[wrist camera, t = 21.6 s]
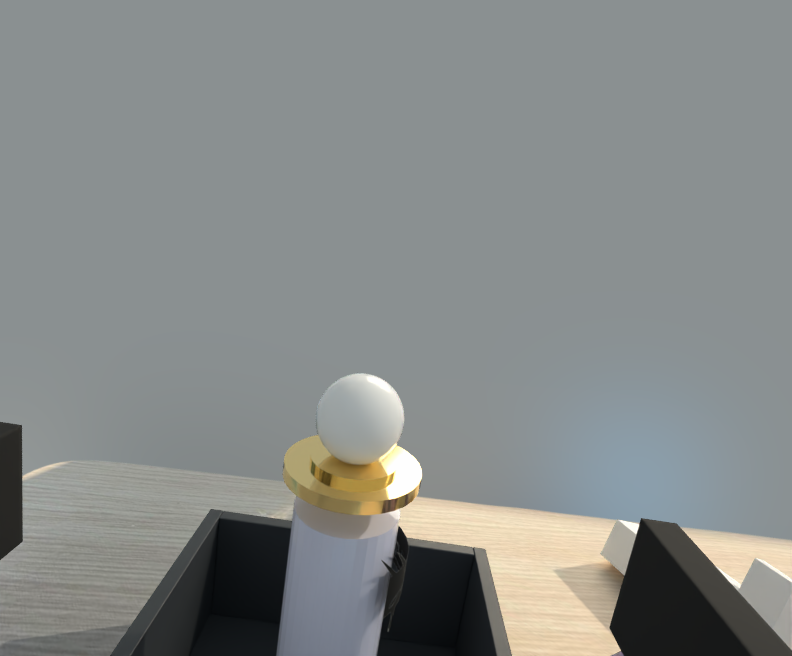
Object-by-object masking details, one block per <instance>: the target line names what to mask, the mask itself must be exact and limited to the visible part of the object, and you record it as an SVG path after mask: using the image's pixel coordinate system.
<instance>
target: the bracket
mask: <svg viewBox="0 0 792 656" xmlns="http://www.w3.org/2000/svg"><path fill="white" fill-rule="evenodd" d="M638 527H639V524H635V523H631V522H627V521H622V520H618V519H617V521H616V523H615V525H614V527H613V529H612V531H611V533H610V535H609V538H608V540H607V542H606V544H605V546H604V548H603V550H602V552H601V555H602V556H603V557H604V558H606V559H607V560H608V561H609V562H610V563H611V564H612V565H613V566H614V567H615V568H616V569H618V570H619V571H620V572H621V573H622V574H623V575H624V576H625V572H626V569H627V566H628V562H629V559H630V555H631V552H632V548H633V545H634V541H635V538H636V534H637V531H638ZM717 569H718V570H719V571H720V572H721V573H722V574H723V575H724V576H725V577H726V578H727V580H728V581H729V582H730V583H731V584H732V585H733V586H734V587H735V588H736V589H737V591H738V592H739V593H740V594H741V595H742V596H743V597H744V598H745V599H746V601H747V602H748V603H749V604H750V605H751V606H752V607H753V608H754V609H755V610H756V612H757V613H758V614H759V615H760V616H761V617H762V618H763V619H764V620H765V621H766V623H767V624H768V625H769V626H770V627H771V628H772V629H773V630H774V631H775V632H776V634H777V635H778V636H779V637H780V638H781V639H782V640H783V641H784V642H785V643H786V645H787V646H788V647H789V648H790V649H791V650H792V579H791V578H790V577H788V576H786V575H785V574H783V573H782V572H780V571H779V570H777V569H776V568H774V567H773V566H771V565H770V564H768V563H767V562H765V561H764V560H761V559H756V558H755V560H754V561H753V563H752V565H751V567H750V569H749V571H748V573H747V575H746V577H745V579H744V581H743V582H742V584H739V583H738V582H737V581H735V580H734V579H733V578H731V577H730V576H728V575H727V574H726V573H724V572H723V571H722V570H720V569H719V568H717Z"/></svg>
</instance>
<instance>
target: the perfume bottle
mask: <svg viewBox="0 0 792 656" xmlns="http://www.w3.org/2000/svg"><path fill="white" fill-rule="evenodd" d="M316 428H317V434H318V435H316V436H312V437H309V438H305V439H303V440H300V441H299V442H297V443H295V444H294V445H293V446H291V447H290V448H289V449H288V451H287V452H286V454H285V458H284V466H283V478H284V482H285V483H286V485H287V486H288V488H289V489H290V490H291V491H292V492H293V493H294V494H295V495H296V498H295V500H294V508H293V517H292V525H291V534H290V542H289V550H288V559H287V567H286V576H285V584H284V593H283V601H282V610H281V618H280V627H279V635H278V644H277V652H276V656H377V651H378V645H379V639H380V633H381V627H382V621H383V618H384V617H386V616H387V615H388V614H389V613H391V617H390V621H389V625H388V630H387V632H389V630H390V627H391V620H392V614H393V615H394V608H395V606H396V604H397V603H398V601H399V599H400V595H401V592H402V588H400V587H403V581H404V575H405V570H406V564H407V558H408V552H409V547H410V543H409V547H408V542H409V541H408V542H407V538H406V536H405V534H404V532H403V531H402V529H401V528H400V527H399V520H400V508H402V507H404V506H406V505H407V504H409V503H410V502H412V501H413V500H414V498H415V497H416V496H417V494H418V491H419V489H420V484H421V478H422V472H421V468H420V465H419V463H418V462H417V461H416V459H415V458H414V457H413V456H412V455H410V454H409V453H408V452H407V451H405V450H404V449H402V448H400V447H399V446H397V443H398V441H399V439H400V437H401V435H402V432H403V428H404V409H403V405H402V403H401V400H400V398H399V396H398V394H397V393H396V391H395V390H394V389H393V388H392V387H391V386H390V385H389V384H388V383H387V382H386V381H384V380H383V379H381V378H379V377H377V376H374V375H370V374H361V373H359V374H352V375H348V376H345V377H342V378H341V379H339V380H337V381H336V382H334V383H333V384H332V385H331V386H330V387H329V388H328V389H327V390H326V391H325V393H324V394H323V396H322V397H321V400H320V402H319V404H318V407H317V411H316ZM396 541H397V542H398V544H397V542H396ZM395 544H396V548H395ZM398 545H399V551H398ZM396 550H397V553H396V554H395V552H396ZM401 551H402V552H403V553H402V555H400V554H401ZM399 553H400V554H399ZM394 556H395V557H394ZM404 557H405V558H404ZM395 558H396V559H397V561H396V559H395ZM392 562H393V563H394V564H395V565H396V567H397V569H398V572H395V571H394V570H393V569H392ZM397 562H398V563H397ZM398 564H399V565H398ZM399 566H400V567H399ZM404 567H405V568H404ZM400 568H401V569H400ZM390 574H391V575H392V576H391V577H390ZM401 584H402V585H401ZM399 589H401V590H400V591H399ZM398 592H399V593H398ZM397 593H398V594H397ZM397 595H398V596H397ZM395 596H396V597H397V598H396V597H395ZM393 599H394V600H393ZM392 600H393V601H392ZM395 600H396V601H395ZM391 602H392V603H391ZM394 602H395V603H394ZM390 603H391V605H390ZM393 603H394V604H393ZM389 606H390V607H391V606H392V607H391V608H389Z"/></svg>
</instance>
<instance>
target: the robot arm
mask: <svg viewBox="0 0 792 656" xmlns="http://www.w3.org/2000/svg"><path fill="white" fill-rule="evenodd" d="M22 541H23V532H22V425H17V424H10V423H3V422H0V560H1V559H2V558H3V557H4V556H6V555H7V554H8V553H9V552H10V551H12V550H13V549H14V548H15V547H16V546H18V545H19V544H20V543H21V542H22ZM610 630H611V632H612V634H613V635H614V637H615V639H616V641H617V643H618V645H619V647H620V649H621V651H622V653H623V655H624V656H792V650H791V649H790V648H789V647H788V646H787V645H786V643H785V642H784V641H783V640H782V639H781V638H780V637H779V636H778V635H777V634H776V632H775V631H774V630H773V629H772V628H771V627H770V626H769V625H768V624H767V623H766V621H765V620H764V619H763V618H762V617H761V616H760V615H759V614H758V613H757V612H756V610H755V609H754V608H753V607H752V606H751V605H750V604H749V603H748V602H747V601H746V599H745V598H744V597H743V596H742V595H741V594H740V593H739V592H738V591H737V589H736V588H735V587H734V586H733V585H732V584H731V583H730V582H729V581H728V580H727V578H726V577H725V576H724V575H723V574H722V573H721V572H720V571H719V570H718V569H717V567H716V566H715V565H714V564H713V563H712V562H711V561H710V560H709V559H708V558H707V556H706V555H705V554H704V553H703V552H702V551H701V550H700V549H699V548H698V547H697V545H696V544H695V543H694V542H693V541H692V540H691V539H690V538H689V537H688V536H687V534H686V533H685V532H684V531H683V530H682V529H681V528H680V527H679V526H678V525H677V524H675V523H669V522H662V521H656V520H649V519H642V518H641V521H640V524H639V527H638V531H637V534H636V538H635V541H634V545H633V548H632V552H631V555H630V559H629V562H628V566H627V569H626V572H625V576H624V579H623V583H622V586H621V590H620V593H619V597H618V600H617V604H616V607H615V611H614V614H613V618H612V621H611V624H610Z"/></svg>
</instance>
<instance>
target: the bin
mask: <svg viewBox="0 0 792 656" xmlns="http://www.w3.org/2000/svg"><path fill="white" fill-rule="evenodd" d="M291 525H292V521H288V520H281V519H275V518H268V517H261V516H254V515H247V514H240V513H233V512H226V511H224V512H223V511H221V510H214V509H211V510H210V511H209V513H208V514H207V516H206V517H205V519H204V520H203V522H202V523H201V524H200V526H199V527H198V529H197V530H196V532H195V533H194V535H193V536H192V538H191V539H190V540H189V542H188V543H187V545H186V546H185V548H184V549H183V551H182V552H181V554H180V555H179V556H178V558H177V559H176V561H175V562H174V564H173V565H172V567H171V568H170V570H169V571H168V572H167V574H166V575H165V577H164V578H163V580H162V581H161V583H160V584H159V586H158V587H157V588H156V590H155V591H154V593H153V594H152V596H151V597H150V599H149V600H148V602H147V603H146V604H145V606H144V607H143V609H142V610H141V612H140V613H139V615H138V616H137V617H136V619H135V620H134V622H133V623H132V625H131V626H130V628H129V629H128V631H127V632H126V633H125V635H124V636H123V638H122V639H121V641H120V642H119V644H118V645H117V647H116V648H115V649H114V651H113V652H112V654H111V655H110V656H276V652H277V644H278V635H279V627H280V618H281V610H282V601H283V593H284V584H285V576H286V567H287V559H288V550H289V542H290V534H291ZM408 541H409V542H408ZM396 542H397V541H396ZM407 542H408V547H409V543H410V547H409V552H408V558H407V564H406V570H405V575H404V581H403V587H400V588H402V592H401V595H400V599H399V601H398V603H397V604H396V606H395V608H394V615H393V614H392V620H391V627H390V630H389V632H387V630H388V625H389V621H390V617H391V613H389V614H388V615H387V616H386V617H384V618H383V621H382V627H381V633H380V639H379V645H378V651H377V656H512V654H511V650H510V646H509V642H508V638H507V634H506V630H505V626H504V622H503V618H502V614H501V610H500V606H499V602H498V598H497V594H496V590H495V586H494V582H493V578H492V574H491V570H490V566H489V562H488V558H487V554H486V550H485V549H482V548H475V547H474V548H473V547H467V546H460V545H454V544H447V543H440V542H433V541H426V540H419V539H412V538H407ZM397 544H398V542H397ZM395 548H396V544H395ZM398 551H399V545H398ZM396 553H397V550H396V552H395V554H396ZM402 553H403V552H402V551H401V554H400V553H399V554H400V555H402ZM394 557H395V556H394ZM404 558H405V557H404ZM395 559H396V558H395ZM396 561H397V559H396ZM397 563H398V562H397ZM398 565H399V564H398ZM399 567H400V566H399ZM404 568H405V567H404ZM392 569H393V570H394V571H395V572H398V569H397V567H396V565H395V564H394V563H393V562H392ZM400 569H401V568H400ZM391 576H392V575H391V574H390V577H391ZM401 585H402V584H401ZM400 590H401V589H399V591H400ZM398 593H399V592H398ZM398 593H397V594H398ZM397 596H398V595H397ZM395 597H396V596H395ZM396 598H397V597H396ZM393 600H394V599H393ZM393 600H392V601H393ZM395 601H396V600H395ZM391 603H392V602H391ZM391 603H390V605H391ZM394 603H395V602H394ZM394 603H393V604H394ZM391 607H392V606H391ZM391 607H390V606H389V608H391Z"/></svg>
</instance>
